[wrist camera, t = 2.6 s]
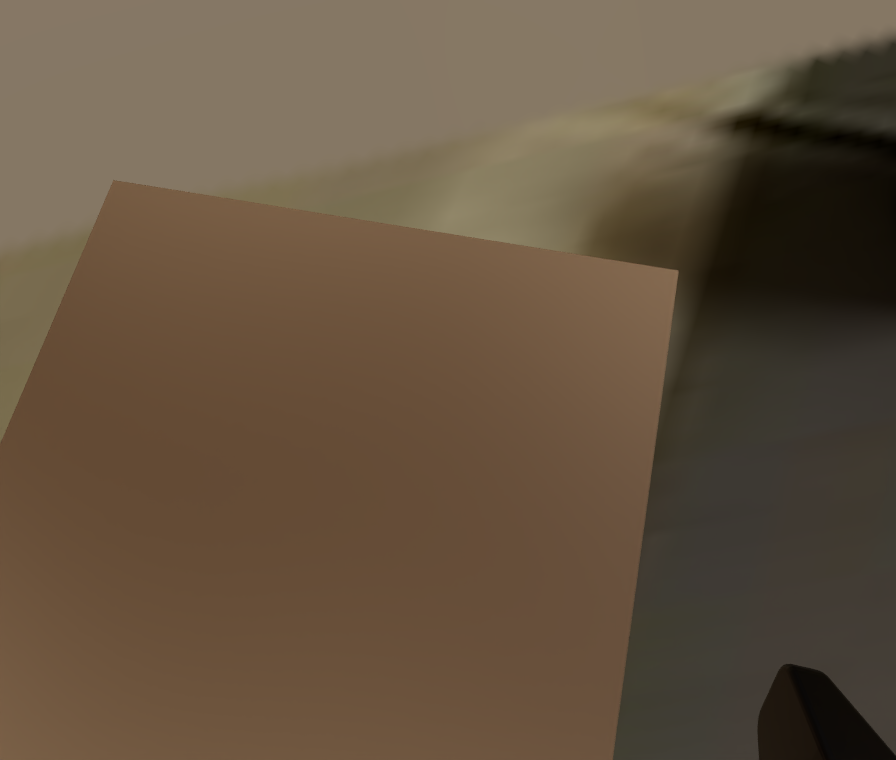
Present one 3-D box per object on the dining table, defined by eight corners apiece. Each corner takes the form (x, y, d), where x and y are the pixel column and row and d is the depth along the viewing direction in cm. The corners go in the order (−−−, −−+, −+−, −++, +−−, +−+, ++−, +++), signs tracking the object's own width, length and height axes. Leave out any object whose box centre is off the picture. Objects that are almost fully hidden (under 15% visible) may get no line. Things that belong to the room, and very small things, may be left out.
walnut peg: (517, 709, 16) (577, 1018, 3) (344, 665, 16) (-150, 793, 4) (549, 528, 17) (677, 269, 5) (387, 493, 17) (113, 179, 5)
